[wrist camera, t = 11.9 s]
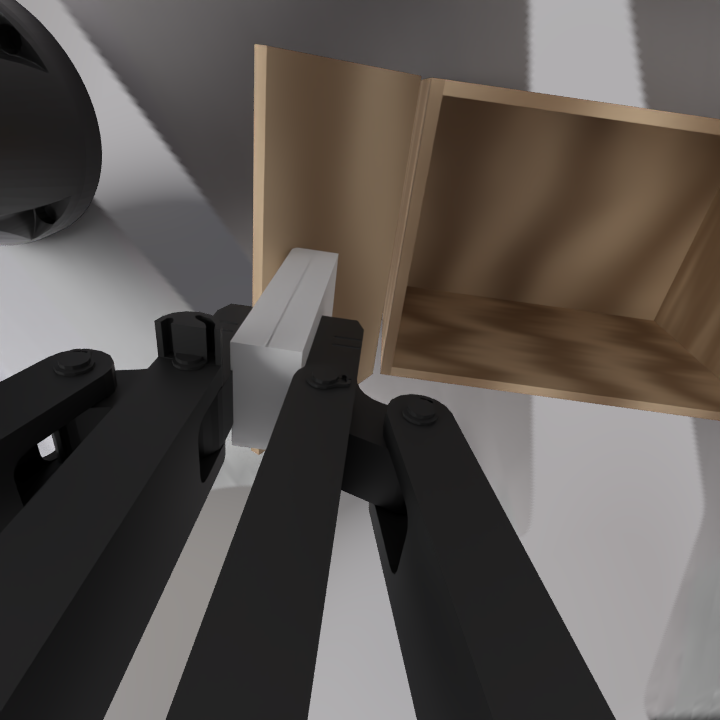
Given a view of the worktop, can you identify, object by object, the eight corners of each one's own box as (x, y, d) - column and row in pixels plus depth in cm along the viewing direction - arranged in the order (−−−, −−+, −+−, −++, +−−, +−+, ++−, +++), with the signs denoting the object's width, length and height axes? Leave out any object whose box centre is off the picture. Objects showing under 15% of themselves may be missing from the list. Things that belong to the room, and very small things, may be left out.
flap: (266, 45, 11) (254, 44, 11) (258, 455, 18) (251, 450, 18) (421, 75, 17) (411, 74, 17) (372, 374, 24) (366, 370, 24)
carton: (384, 286, 34) (380, 373, 24) (417, 80, 28) (432, 77, 17) (654, 324, 34) (766, 427, 24) (750, 129, 28) (963, 154, 17)
